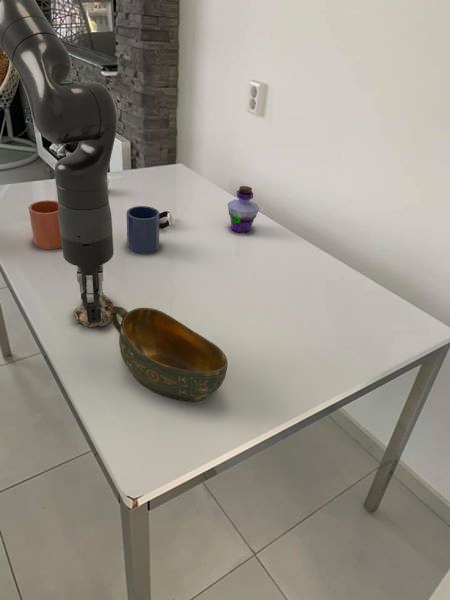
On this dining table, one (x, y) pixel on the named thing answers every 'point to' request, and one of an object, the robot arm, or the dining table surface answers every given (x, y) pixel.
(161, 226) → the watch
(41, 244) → the cup left
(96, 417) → the dining table surface
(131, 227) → the cup right
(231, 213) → the potion bottle
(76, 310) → the mineral rock
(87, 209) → the robot arm
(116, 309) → the painted kuksa bowl
